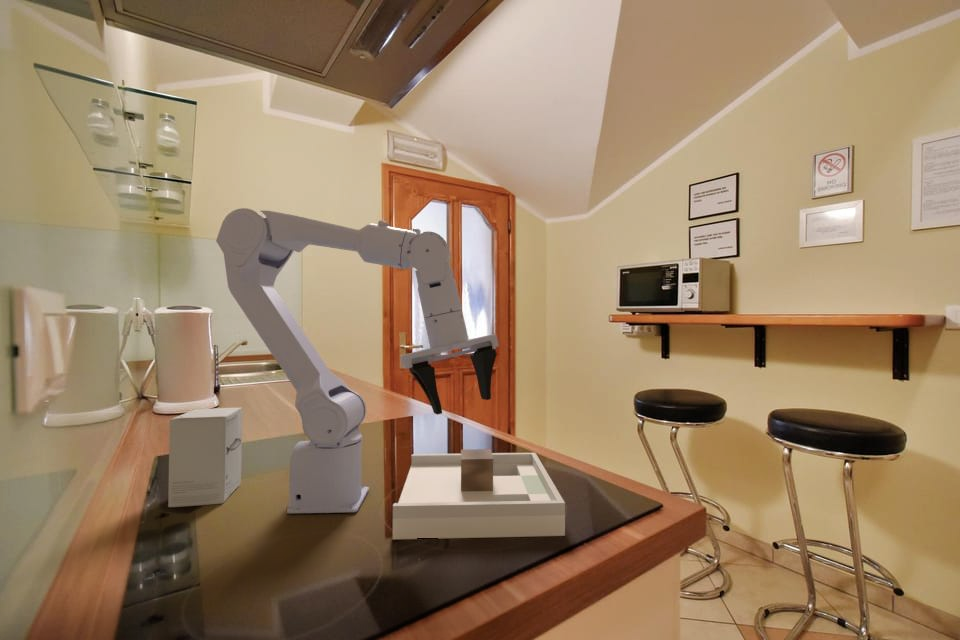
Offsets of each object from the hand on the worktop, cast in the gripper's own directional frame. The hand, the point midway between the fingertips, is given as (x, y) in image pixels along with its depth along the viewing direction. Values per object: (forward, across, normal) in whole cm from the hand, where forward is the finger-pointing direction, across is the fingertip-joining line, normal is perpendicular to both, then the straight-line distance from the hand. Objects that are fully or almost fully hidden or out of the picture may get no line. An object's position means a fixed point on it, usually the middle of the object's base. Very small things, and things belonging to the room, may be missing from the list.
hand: (462, 405), depth 60 cm
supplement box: (+6, -37, +18) cm, 41 cm away
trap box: (+14, -1, +1) cm, 14 cm away
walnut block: (+12, 0, 0) cm, 12 cm away
